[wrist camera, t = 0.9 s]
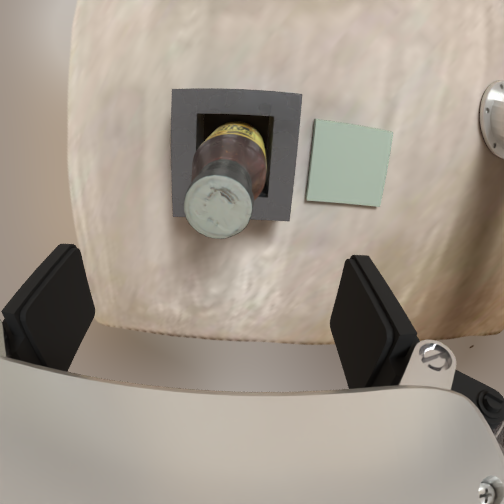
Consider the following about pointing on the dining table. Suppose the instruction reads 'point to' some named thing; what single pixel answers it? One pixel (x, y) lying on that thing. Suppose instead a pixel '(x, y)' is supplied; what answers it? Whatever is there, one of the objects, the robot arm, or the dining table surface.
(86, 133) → the dining table surface
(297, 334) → the dining table surface
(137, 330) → the dining table surface
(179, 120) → the collar
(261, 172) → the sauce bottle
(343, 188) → the mat
